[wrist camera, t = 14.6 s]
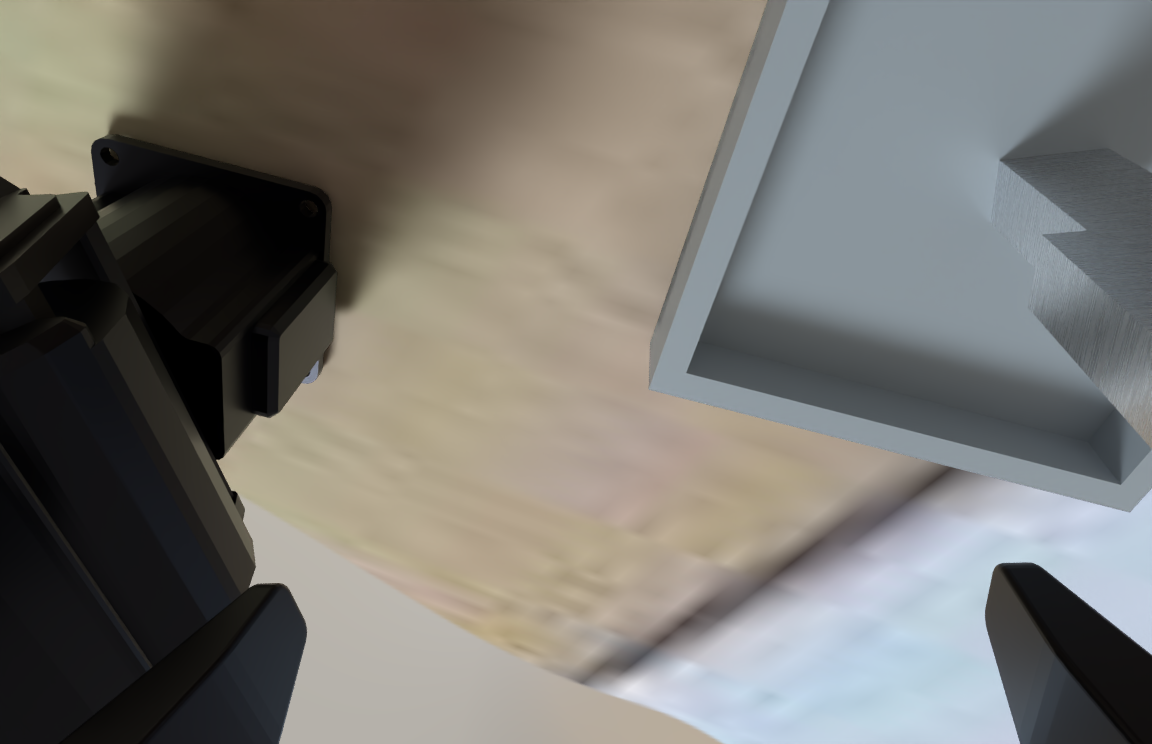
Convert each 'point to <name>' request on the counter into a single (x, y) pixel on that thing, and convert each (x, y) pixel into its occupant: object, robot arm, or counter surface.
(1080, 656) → the robot arm
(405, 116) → the counter surface
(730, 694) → the counter surface
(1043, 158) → the grey rectangular block
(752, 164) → the tray
